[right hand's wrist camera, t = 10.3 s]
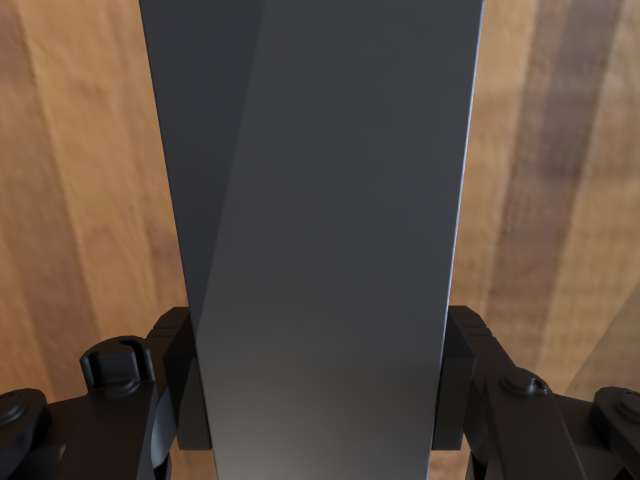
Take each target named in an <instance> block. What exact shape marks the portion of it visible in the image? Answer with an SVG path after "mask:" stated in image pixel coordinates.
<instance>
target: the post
mask: <svg viewBox="0 0 640 480" xmlns="http://www.w3.org/2000/svg"><path fill="white" fill-rule="evenodd" d="M484 1H485V0H139V5H140V11H141V17H142V23H143V30H144V36H145V42H146V48H147V54H148V60H149V66H150V72H151V78H152V84H153V90H154V96H155V102H156V108H157V115H158V121H159V127H160V133H161V139H162V145H163V151H164V157H165V163H166V169H167V175H168V181H169V187H170V193H171V200H172V206H173V212H174V218H175V224H176V230H177V236H178V242H179V248H180V254H181V260H182V266H183V272H184V278H185V284H186V291H187V297H188V303H189V309H190V315H191V321H192V327H193V333H194V339H195V345H196V351H197V357H198V363H199V369H200V376H201V382H202V388H203V394H204V400H205V406H206V412H207V418H208V424H209V430H210V436H211V442H212V448H213V454H214V461H215V467H216V473H217V479H218V480H427V479H428V471H429V463H430V454H431V446H432V437H433V429H434V421H435V412H436V404H437V395H438V387H439V379H440V370H441V362H442V353H443V345H444V337H445V328H446V320H447V312H448V303H449V295H450V286H451V278H452V270H453V261H454V253H455V244H456V236H457V228H458V219H459V211H460V202H461V194H462V186H463V177H464V169H465V160H466V152H467V144H468V135H469V127H470V119H471V110H472V102H473V93H474V85H475V77H476V68H477V60H478V51H479V43H480V35H481V26H482V18H483V9H484Z"/></svg>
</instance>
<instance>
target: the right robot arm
mask: <svg viewBox="0 0 640 480" xmlns="http://www.w3.org/2000/svg"><path fill="white" fill-rule="evenodd" d="M79 360H80V364H81V368H82V371H83V375H84V378H85V382H86V385H87V389H88V393H87V395H84V396H81V397H77V398H73V399H69V400H64V401H60V402H55V403H51V404H48V403H47V400H46V397H45V394H43V393H42V392H41V391H40V390H37V389H30V388H26V389H19V390H14V391H11V392H8V393H4V394H2V395H0V480H170V479H171V469H172V464H171V457H170V452H169V450H170V447H171V445H172V442H173V440H174V438H175V435H177V440H178V446H179V450H211V449H212V442H211V436H210V430H209V424H208V418H207V412H206V406H205V400H204V394H203V388H202V382H201V376H200V369H199V363H198V357H197V351H196V345H195V339H194V333H193V327H192V321H191V315H190V309H189V307H173V308H172V309H171V310H169V311H168V312H166V313H165V314H163V315H162V316H161V317H160V318H159V320H158V321H157V322H156V324H155V325H154V327H153V329H151V331H150V332H149V334H148V335H147V338H145V339H143V338H142V337H137V336H119V337H115V338H111V339H107V340H105V341H103V342H101V343H98V344H96V345H95V346H93V347H92V348H90V349H89V350H87V351H86V352H85V353H84V354H83V356H82V357H81V358H80V359H79ZM463 433H464V434H465V437H466V439H467V441H468V444H469V446H470V448H471V452H470V457H469V462H468V467H467V472H466V477H465V480H640V393H638V392H635V391H632V390H629V389H626V388H619V387H605V388H601V389H600V390H598V391H597V392H596V393H595V396H594V399H593V402H588V401H583V400H579V399H574V398H570V397H565V396H561V395H558V394H554V393H552V390H551V389H550V388H549V386H548V385H547V383H546V382H545V381H544V380H542V379H541V378H540V377H539V376H537V375H536V374H534V373H532V372H530V371H528V370H526V369H523V368H519V367H516V366H515V364H514V363H513V362H512V360H511V359H510V357H509V356H508V355H507V353H506V352H505V351H504V349H503V348H502V346H501V345H500V344H499V342H498V341H497V339H496V338H495V337H493V334H492V332H491V331H490V330H489V328H487V325H486V324H485V323H484V321H483V320H482V318H481V317H480V316H479V315H478V314H477V313H475V312H474V311H473V310H471V309H470V308H468V307H467V306H448V312H447V320H446V328H445V337H444V345H443V353H442V362H441V370H440V379H439V387H438V395H437V404H436V412H435V421H434V429H433V437H432V446H431V450H460V449H461V444H462V438H463Z"/></svg>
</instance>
